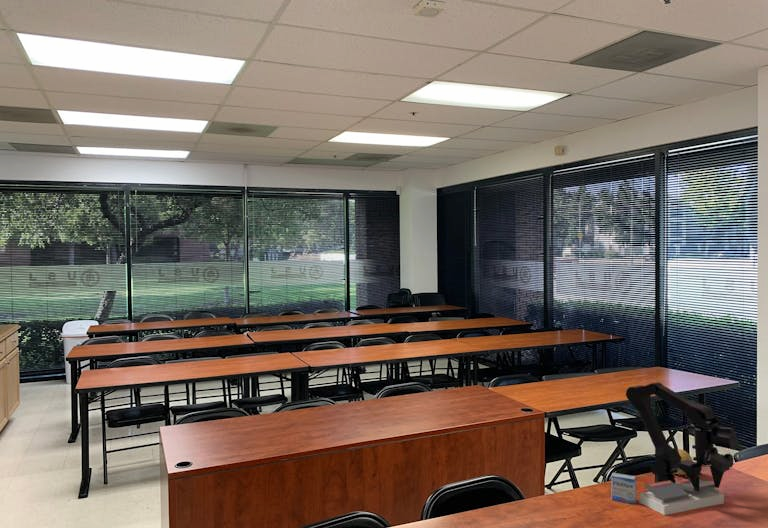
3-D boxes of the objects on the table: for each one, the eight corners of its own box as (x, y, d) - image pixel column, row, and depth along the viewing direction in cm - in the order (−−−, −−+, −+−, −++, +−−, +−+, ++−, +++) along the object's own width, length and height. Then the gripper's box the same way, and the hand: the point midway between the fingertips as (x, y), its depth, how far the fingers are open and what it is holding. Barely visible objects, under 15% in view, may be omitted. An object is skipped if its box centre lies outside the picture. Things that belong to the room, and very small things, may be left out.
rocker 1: (645, 488, 194) (646, 484, 194) (669, 484, 198) (670, 479, 198) (663, 502, 187) (664, 498, 187) (687, 498, 191) (688, 493, 190)
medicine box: (611, 500, 197) (610, 475, 197) (612, 495, 201) (612, 471, 201) (635, 504, 193) (635, 479, 194) (636, 499, 197) (636, 475, 198)
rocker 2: (674, 487, 199) (674, 482, 199) (697, 483, 202) (697, 478, 203) (693, 492, 191) (693, 487, 191) (717, 488, 195) (716, 483, 195)
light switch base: (639, 502, 195) (639, 490, 195) (696, 491, 204) (696, 480, 204) (664, 515, 185) (664, 503, 185) (724, 503, 194) (723, 491, 194)
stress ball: (695, 477, 221) (683, 455, 228) (699, 464, 214) (687, 441, 222) (670, 481, 221) (659, 458, 229) (673, 468, 215) (662, 445, 223)
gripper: (704, 452, 183) (707, 500, 182) (745, 445, 189) (748, 492, 188) (676, 444, 193) (679, 490, 192) (716, 438, 200) (719, 483, 198)
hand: (707, 489), depth 192 cm, fingers open, 9 cm apart
